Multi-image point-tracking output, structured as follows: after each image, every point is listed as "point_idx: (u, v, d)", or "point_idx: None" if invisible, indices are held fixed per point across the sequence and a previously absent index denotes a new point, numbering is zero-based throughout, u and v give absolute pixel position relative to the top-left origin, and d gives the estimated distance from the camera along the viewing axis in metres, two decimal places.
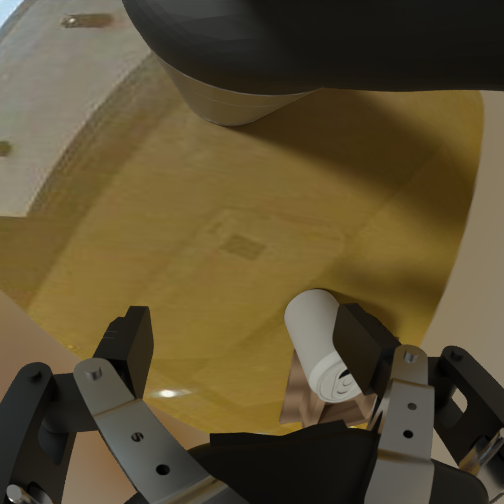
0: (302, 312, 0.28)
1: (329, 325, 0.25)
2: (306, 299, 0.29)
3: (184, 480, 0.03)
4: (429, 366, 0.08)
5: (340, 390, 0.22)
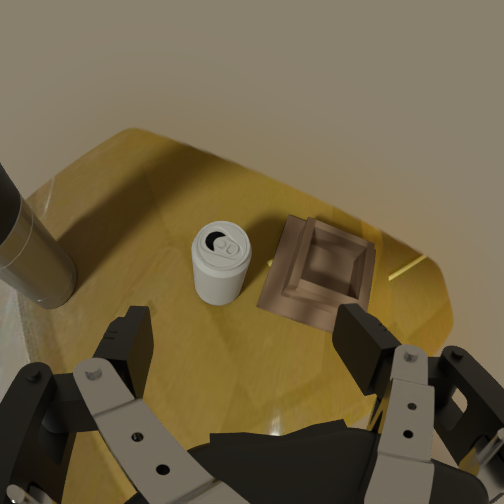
0: (195, 283, 0.35)
1: None
2: None
3: (184, 480, 0.03)
4: (429, 366, 0.08)
5: (232, 251, 0.29)
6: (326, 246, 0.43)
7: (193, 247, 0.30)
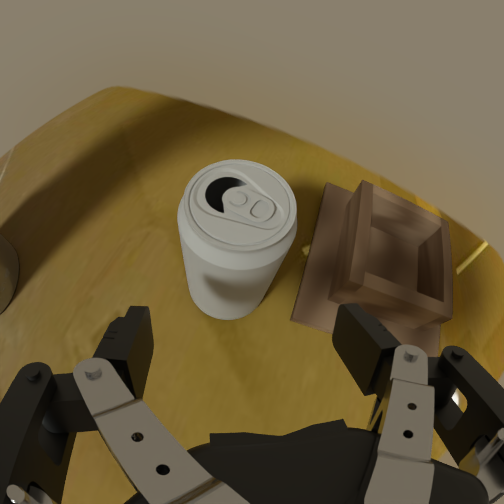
0: (189, 283, 0.20)
1: None
2: None
3: (184, 479, 0.03)
4: (429, 366, 0.08)
5: (261, 213, 0.14)
6: (384, 226, 0.28)
7: (181, 208, 0.14)
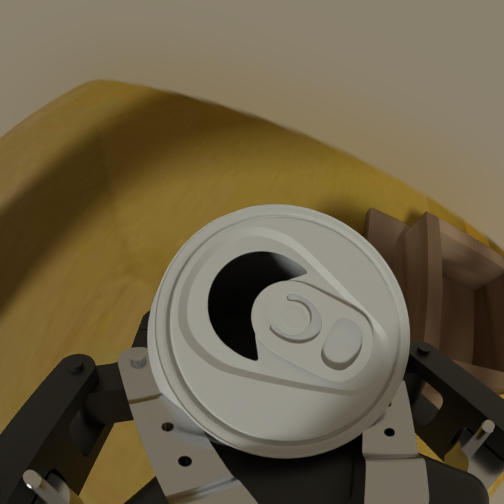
0: None
1: None
2: None
3: (203, 474, 0.04)
4: None
5: (345, 351, 0.05)
6: (442, 269, 0.19)
7: (153, 327, 0.06)
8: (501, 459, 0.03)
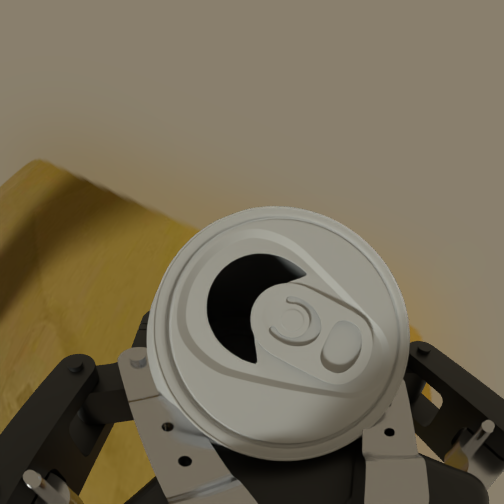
0: None
1: None
2: None
3: (203, 474, 0.04)
4: None
5: (344, 354, 0.05)
6: None
7: (152, 329, 0.06)
8: (501, 459, 0.03)
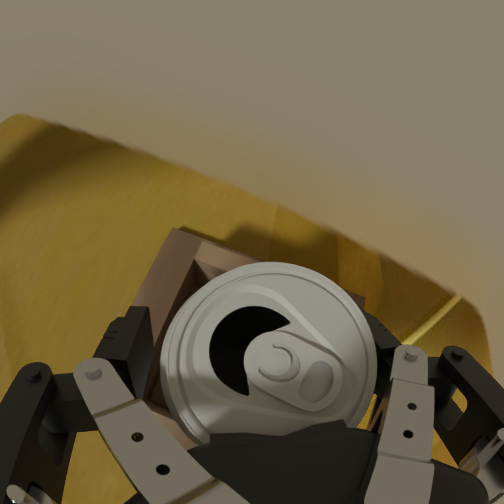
0: None
1: None
2: None
3: (184, 479, 0.03)
4: (429, 366, 0.08)
5: (319, 387, 0.07)
6: None
7: (164, 366, 0.07)
8: None
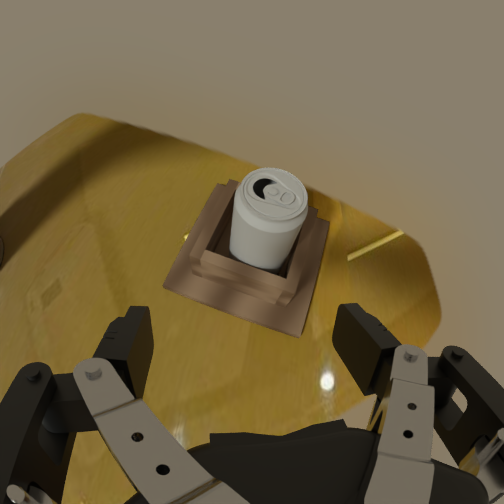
0: (233, 252, 0.29)
1: None
2: (229, 250, 0.31)
3: (184, 480, 0.03)
4: (429, 366, 0.08)
5: (287, 200, 0.23)
6: None
7: (237, 197, 0.24)
8: None
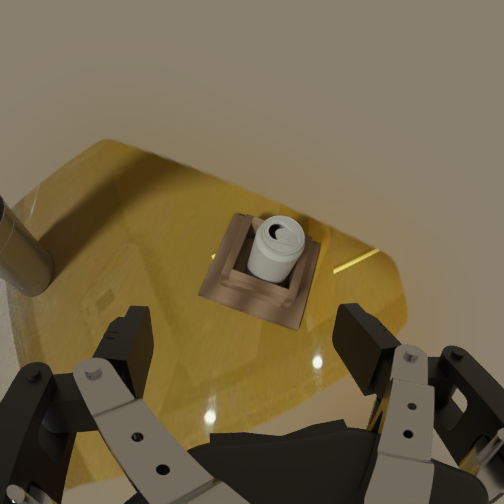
0: (251, 270, 0.41)
1: (252, 248, 0.39)
2: (247, 268, 0.43)
3: (184, 480, 0.03)
4: (429, 366, 0.08)
5: (291, 240, 0.35)
6: None
7: (257, 237, 0.36)
8: None
